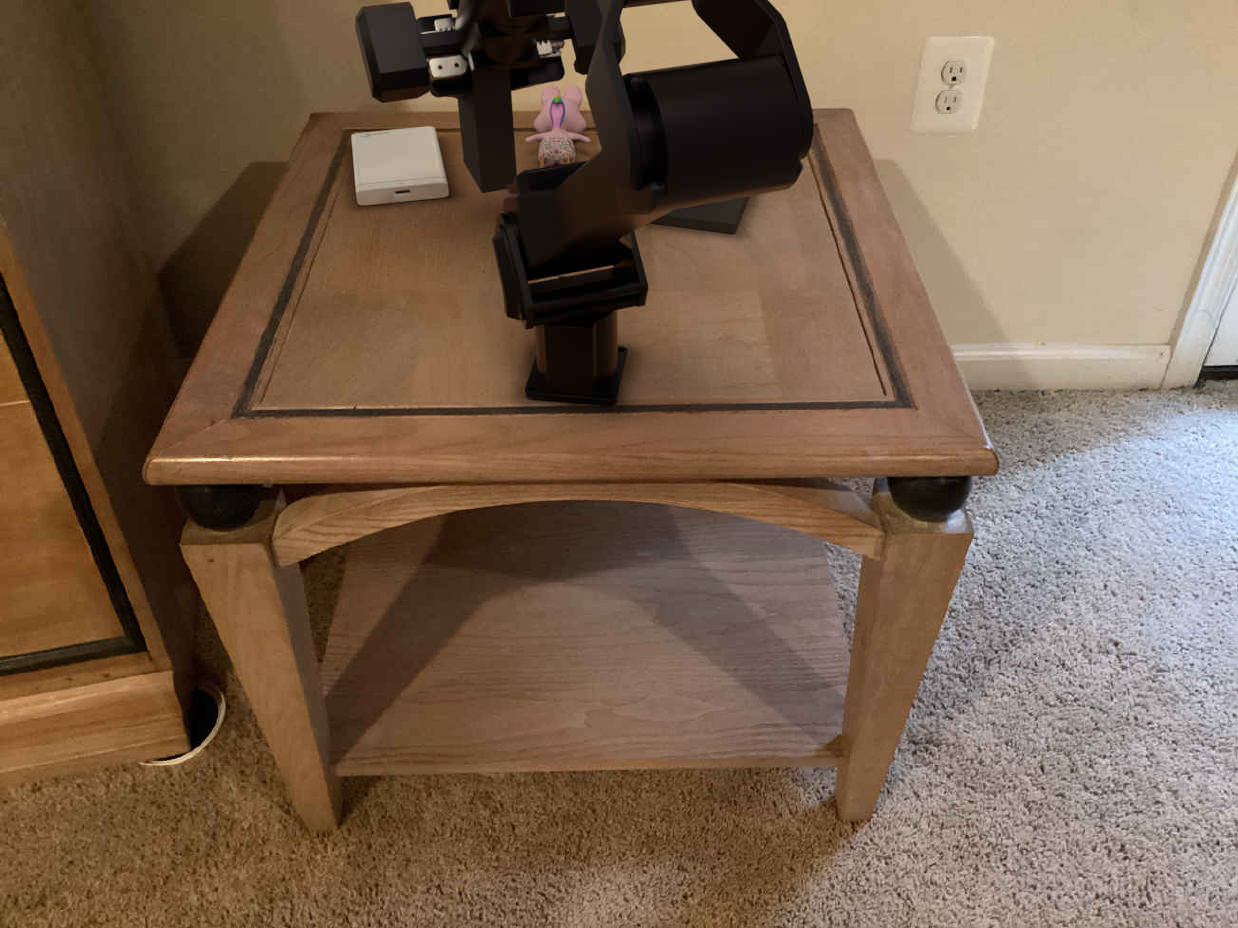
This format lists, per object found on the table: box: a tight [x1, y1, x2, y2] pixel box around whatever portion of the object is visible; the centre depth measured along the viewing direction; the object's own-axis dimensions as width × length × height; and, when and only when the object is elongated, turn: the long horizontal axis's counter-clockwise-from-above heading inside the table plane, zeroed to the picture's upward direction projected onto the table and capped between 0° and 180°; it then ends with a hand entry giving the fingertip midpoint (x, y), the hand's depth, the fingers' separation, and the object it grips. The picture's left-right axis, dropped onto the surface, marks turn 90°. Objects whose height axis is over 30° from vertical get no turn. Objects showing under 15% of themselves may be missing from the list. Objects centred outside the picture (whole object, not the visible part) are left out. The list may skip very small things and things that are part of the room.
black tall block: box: [457, 66, 518, 194], centre depth 84 cm, size 3×6×12 cm, turn 20°
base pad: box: [649, 196, 750, 235], centre depth 97 cm, size 14×14×3 cm
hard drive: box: [350, 125, 450, 206], centre depth 100 cm, size 2×8×12 cm
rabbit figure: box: [524, 85, 591, 168], centre depth 104 cm, size 6×6×15 cm
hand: (479, 90), depth 85 cm, fingers closed on black tall block, 3 cm apart
